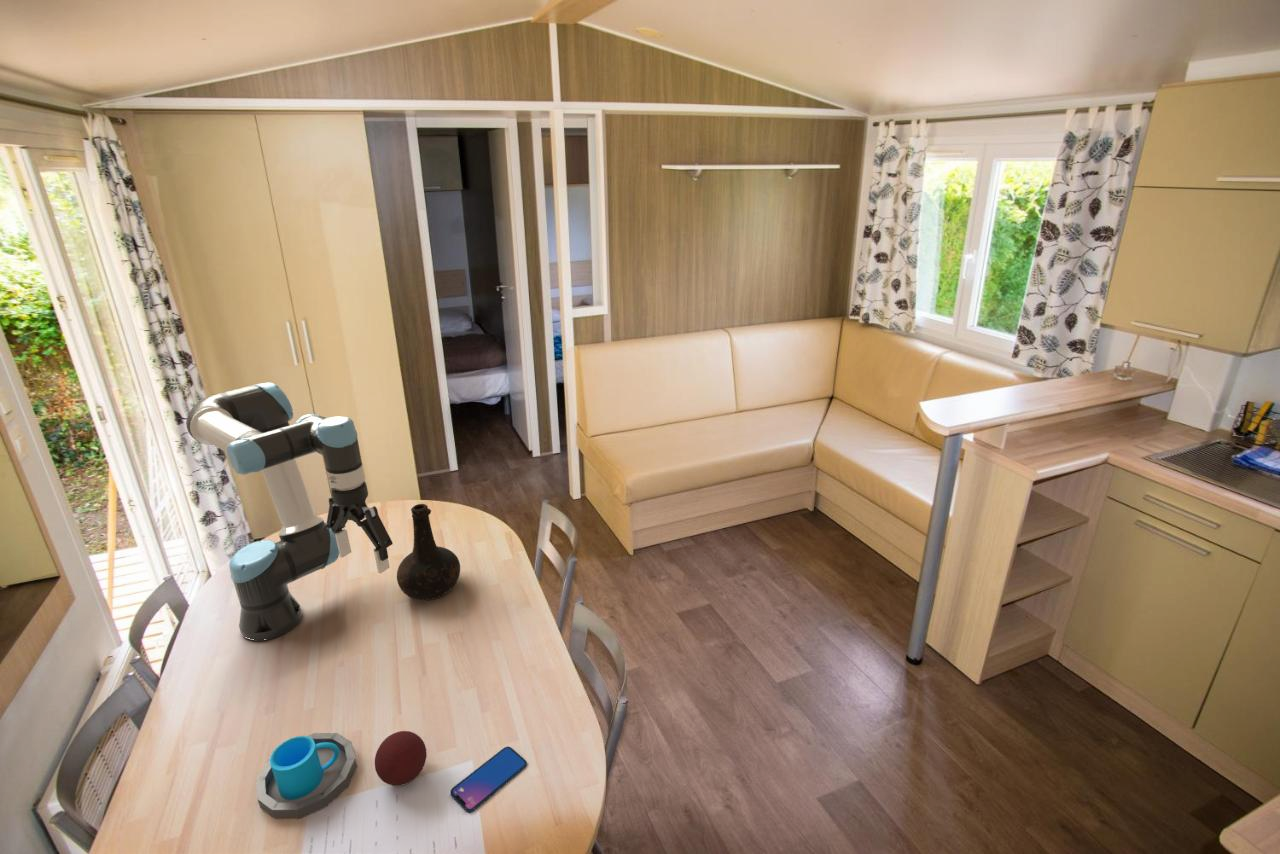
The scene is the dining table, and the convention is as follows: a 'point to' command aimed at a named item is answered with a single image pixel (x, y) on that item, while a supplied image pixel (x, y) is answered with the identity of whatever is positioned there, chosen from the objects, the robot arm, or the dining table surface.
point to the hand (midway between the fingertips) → (364, 562)
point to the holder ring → (323, 795)
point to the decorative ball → (400, 758)
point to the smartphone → (488, 779)
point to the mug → (299, 766)
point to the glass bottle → (427, 562)
